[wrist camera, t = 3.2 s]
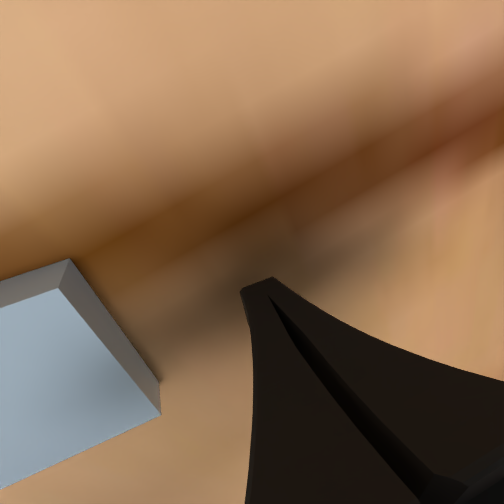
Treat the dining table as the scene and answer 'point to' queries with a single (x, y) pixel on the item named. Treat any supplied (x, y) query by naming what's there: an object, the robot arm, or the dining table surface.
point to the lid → (64, 372)
